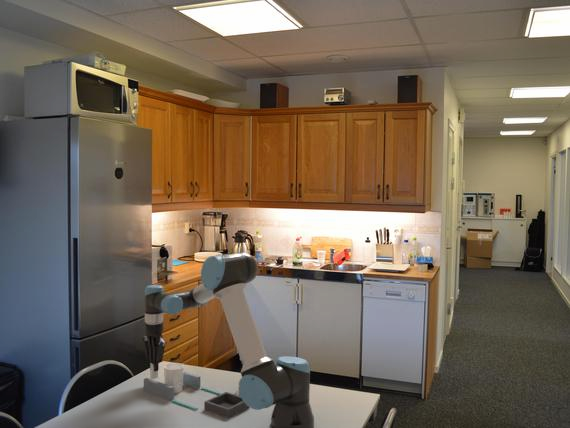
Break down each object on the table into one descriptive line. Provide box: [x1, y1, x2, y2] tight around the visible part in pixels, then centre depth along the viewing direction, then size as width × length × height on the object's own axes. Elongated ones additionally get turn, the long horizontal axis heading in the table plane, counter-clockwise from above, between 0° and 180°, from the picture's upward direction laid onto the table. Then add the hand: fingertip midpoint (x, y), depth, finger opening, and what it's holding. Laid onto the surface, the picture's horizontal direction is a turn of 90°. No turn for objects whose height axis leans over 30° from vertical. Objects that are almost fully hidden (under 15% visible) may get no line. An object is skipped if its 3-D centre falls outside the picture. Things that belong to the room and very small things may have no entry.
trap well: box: [203, 391, 250, 419], centre depth 198 cm, size 12×12×3 cm
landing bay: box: [171, 386, 222, 411], centre depth 206 cm, size 13×17×1 cm
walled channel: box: [143, 371, 201, 402], centre depth 215 cm, size 16×16×5 cm
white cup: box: [163, 362, 185, 394], centre depth 214 cm, size 8×8×10 cm
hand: (154, 377), depth 222 cm, fingers closed
